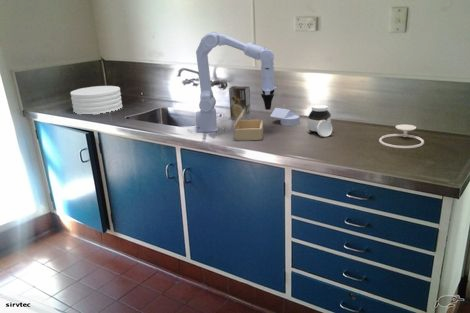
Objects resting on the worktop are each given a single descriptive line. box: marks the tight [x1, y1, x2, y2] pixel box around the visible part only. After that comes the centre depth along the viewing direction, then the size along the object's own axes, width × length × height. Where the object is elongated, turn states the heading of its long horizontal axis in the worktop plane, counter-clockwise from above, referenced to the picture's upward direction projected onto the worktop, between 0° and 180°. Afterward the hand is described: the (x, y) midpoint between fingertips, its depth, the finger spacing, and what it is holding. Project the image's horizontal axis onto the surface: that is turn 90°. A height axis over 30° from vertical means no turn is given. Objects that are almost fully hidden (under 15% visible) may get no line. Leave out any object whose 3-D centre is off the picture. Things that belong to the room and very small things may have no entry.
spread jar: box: [307, 104, 333, 138], centre depth 189 cm, size 12×11×12 cm
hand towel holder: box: [378, 124, 425, 149], centre depth 175 cm, size 17×4×21 cm
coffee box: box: [228, 85, 252, 121], centre depth 219 cm, size 9×6×16 cm
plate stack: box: [70, 85, 123, 115], centre depth 258 cm, size 28×28×12 cm
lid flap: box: [232, 109, 244, 129], centre depth 191 cm, size 6×14×1 cm
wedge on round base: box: [269, 107, 300, 127], centre depth 209 cm, size 9×7×13 cm
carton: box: [234, 119, 264, 141], centre depth 192 cm, size 11×16×5 cm
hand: (268, 107), depth 198 cm, fingers open, 7 cm apart
